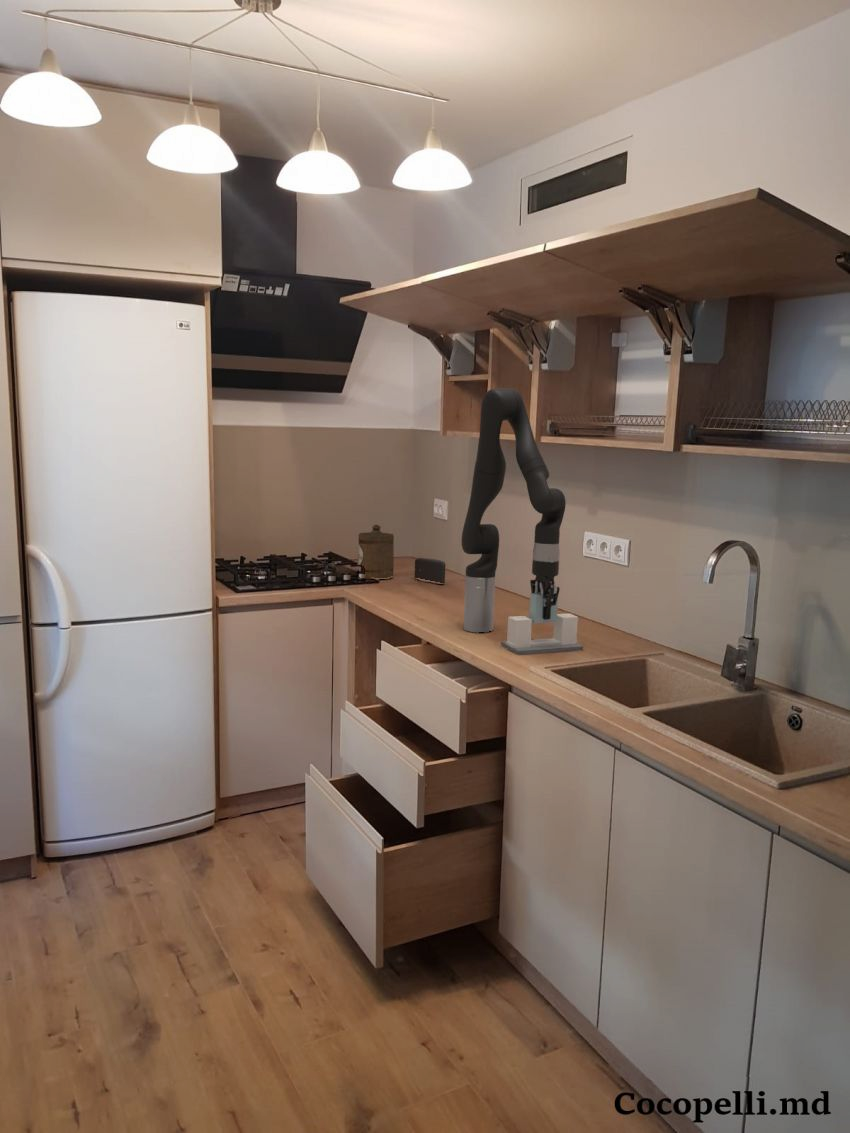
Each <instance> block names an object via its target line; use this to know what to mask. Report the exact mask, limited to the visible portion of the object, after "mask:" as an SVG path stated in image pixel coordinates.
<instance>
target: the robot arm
mask: <svg viewBox="0 0 850 1133" xmlns="http://www.w3.org/2000/svg"><path fill="white" fill-rule="evenodd" d="M480 406H481V407H480V423H479V437H478V444H477V452H476V459H475V460H476V461H475V464H474V468H473V469H474V470H473V476H472V484H471V491H470V497H469V502H468V508H467V511H466V514H465V515H466V516H465V520H464V524H463V527H462V532H461V547H462V551H463V552H464V553H465V554H467V555H481V556H480V558H479V559H477V560H476V561H474V562H472V563H470V564H468V565H467V566H466V567H465V578H464V579H465V582H464V584H465V585H464V586H465V587H464V608H463V612H464V613H463V631H466V632H471V633H478V634H479V632H484V633H490V632H489V631H491V632H493V631H494V615H495V612H494V611H495V595H496V594H495V591H496V590H495V589H496V571H497V568H498V560H499V550H500V548H499V547H500V533H499V529H498V527H497V526H496V525H495V524H490V523H485V524H482V523H481V522H482V518H483V516H484V514H485V512H486V510H487V509H488V507H490V505H491V504H492V502H493V501H494V500H495V499H496V498H497V496H498V495H499V494H500V492H501V491H502V489H503V486H504V483H505V482H504V481H505V476H506V470H507V463H506V459H505V454H504V452H503V449H502V446H501V439H500V438H501V436H500V435H501V429H502V425H503V422H504V421H507V422H508V423H509V425H510V427H511V429H512V430H513V433H514V436H515V437H514V438H515V439H514V440H515V458H516V462H517V465H518V468H519V469H520V471H521V474H522V476H523V478H524V480H525V482H526V488H527V489H526V490H527V493H528V499H529V501H530V504H531V506H532V508H533V509H534V510H535V511H536V512H537V513H538V514H541V520H539V521H538V522H537V523H536V524H535V527H534V540H533V541H534V542H533V549H532V563H531V564H532V568H531V574H532V575H533V576H535V578H534V579H530V582H529V583H530V591H531V592H530V593H536V594H538V593H541V595H542V598H543V619H545V620H546V619H550V616H551V606H553V605H556V602H557V598H558V599H559V593H560V587H559V586H556V585H555V577H557V576H558V575H559V574H560V573H559V570H560V568H559V567H560V537H561V536H560V535H561V534H560V530H561V526H562V523H563V519H564V515H565V511H566V503H567V502H566V497H565V494H564V492H563V491H561V490H560V489H558V488H556V487H554V488H553V487H552V488H551V487H549V485H548V479H549V477H550V471H549V469H548V467H547V465H546V463H545V461H544V458H543V456H542V455H541V452H540V450H539V448H538V445H537V442H536V439H535V436H534V432H533V429H532V426H531V422H530V419H529V415H528V412H527V408H526V406H525V401H524V399H523V397H522V395H521V393H520V392H519V390H517V389H515V388H514V387H504V388H503V387H502V388H501V387H500V388H493V389H492V388H491V389H489V390H487V392H485V393H484V394H483V398H482V401H481V405H480ZM545 594H548V596H546V595H545ZM546 599H547V602H546ZM552 599H553V601H552Z"/></svg>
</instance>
